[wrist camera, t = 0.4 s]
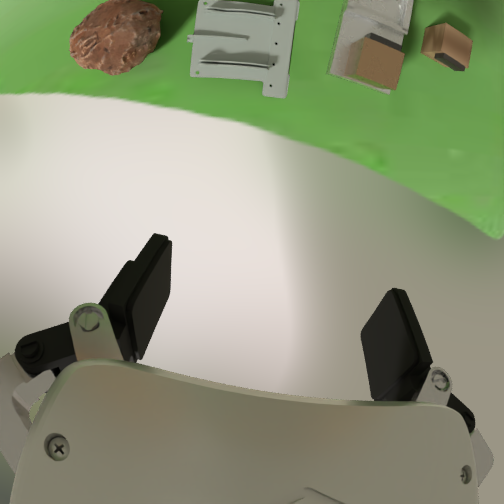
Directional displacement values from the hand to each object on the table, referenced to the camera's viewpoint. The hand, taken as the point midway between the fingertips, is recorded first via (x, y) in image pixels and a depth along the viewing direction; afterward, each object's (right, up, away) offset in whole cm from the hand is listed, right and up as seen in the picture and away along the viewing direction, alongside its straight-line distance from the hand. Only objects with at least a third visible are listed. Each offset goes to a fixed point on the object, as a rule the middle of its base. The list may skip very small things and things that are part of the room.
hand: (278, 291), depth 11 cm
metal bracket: (-2, +29, +17) cm, 34 cm away
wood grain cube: (+25, +30, +13) cm, 41 cm away
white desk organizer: (+14, +30, +14) cm, 36 cm away
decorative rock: (-18, +32, +17) cm, 40 cm away
